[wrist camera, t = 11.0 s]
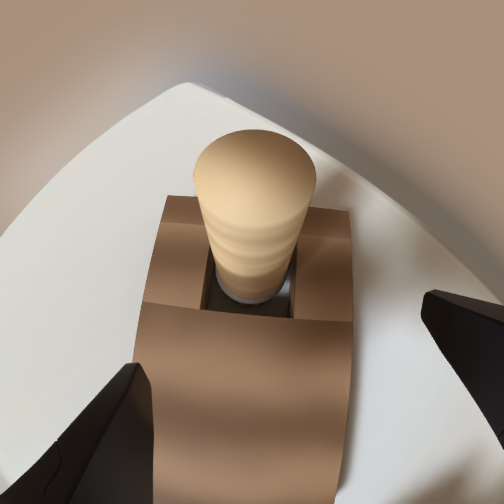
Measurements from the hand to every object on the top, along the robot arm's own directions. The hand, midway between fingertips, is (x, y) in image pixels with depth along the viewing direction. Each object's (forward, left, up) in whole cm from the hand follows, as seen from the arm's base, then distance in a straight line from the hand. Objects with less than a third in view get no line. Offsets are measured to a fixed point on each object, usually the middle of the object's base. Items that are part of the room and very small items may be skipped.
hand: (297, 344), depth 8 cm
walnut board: (-1, +2, -12) cm, 12 cm away
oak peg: (+5, +2, -12) cm, 13 cm away
